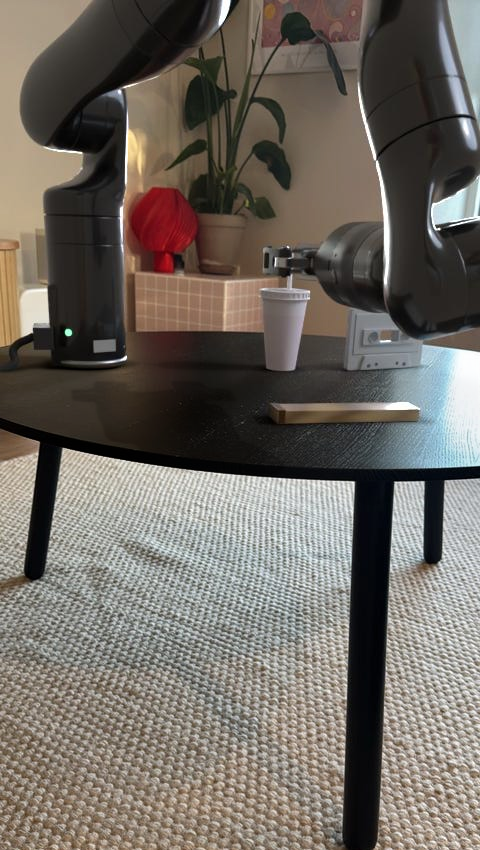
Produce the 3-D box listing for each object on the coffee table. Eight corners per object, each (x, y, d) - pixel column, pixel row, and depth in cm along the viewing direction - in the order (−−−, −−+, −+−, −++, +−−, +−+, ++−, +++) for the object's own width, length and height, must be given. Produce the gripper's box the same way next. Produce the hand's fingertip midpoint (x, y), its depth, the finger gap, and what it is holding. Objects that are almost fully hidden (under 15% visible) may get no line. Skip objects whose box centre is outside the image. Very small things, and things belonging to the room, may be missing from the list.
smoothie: (302, 374, 93) (309, 254, 88) (251, 370, 94) (256, 252, 89) (308, 366, 99) (315, 253, 94) (260, 362, 100) (265, 251, 95)
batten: (277, 424, 69) (278, 410, 69) (269, 416, 72) (269, 402, 71) (418, 421, 72) (420, 407, 72) (405, 413, 75) (407, 401, 74)
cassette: (414, 364, 103) (420, 306, 100) (422, 367, 101) (430, 308, 98) (340, 368, 98) (345, 307, 95) (348, 371, 96) (354, 309, 93)
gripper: (451, 223, 66) (381, 224, 81) (296, 218, 63) (253, 220, 78) (441, 311, 69) (375, 296, 84) (292, 310, 66) (250, 295, 81)
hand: (316, 260), depth 81 cm, fingers open, 8 cm apart
